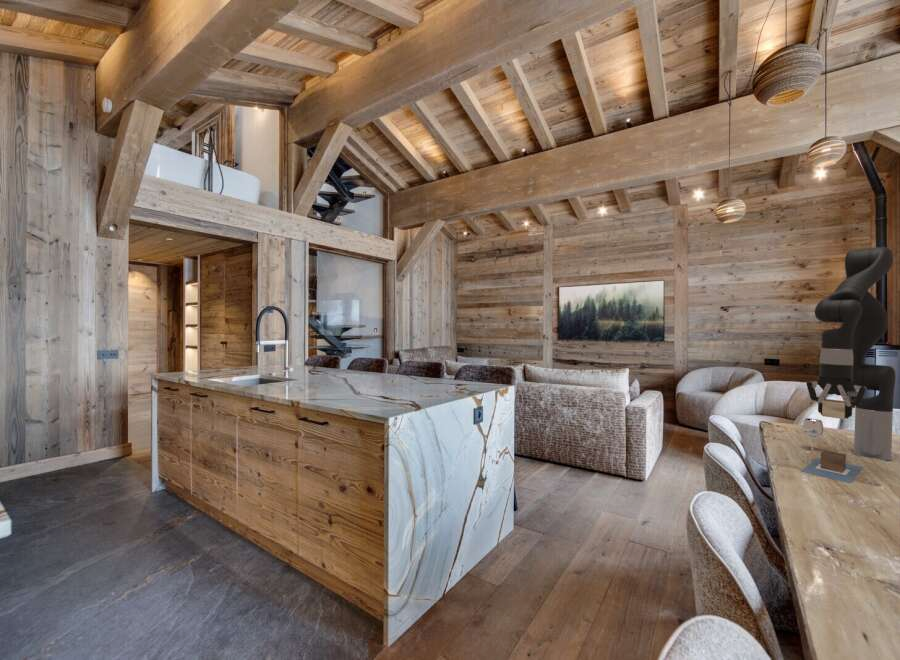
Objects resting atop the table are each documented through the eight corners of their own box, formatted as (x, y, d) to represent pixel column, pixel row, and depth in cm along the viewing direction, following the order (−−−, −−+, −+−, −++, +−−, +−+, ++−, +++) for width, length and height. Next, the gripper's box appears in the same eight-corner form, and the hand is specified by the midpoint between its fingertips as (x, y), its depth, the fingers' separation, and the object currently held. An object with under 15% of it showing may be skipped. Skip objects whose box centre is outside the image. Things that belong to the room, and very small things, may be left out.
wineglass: (827, 455, 143) (828, 422, 143) (808, 453, 144) (809, 421, 144) (815, 450, 148) (816, 418, 148) (798, 449, 150) (799, 417, 149)
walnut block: (824, 465, 128) (824, 449, 128) (845, 469, 124) (846, 454, 124) (820, 468, 125) (821, 452, 125) (842, 473, 122) (842, 457, 121)
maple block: (825, 414, 128) (826, 398, 128) (847, 417, 124) (847, 401, 124) (822, 416, 125) (822, 400, 125) (844, 419, 121) (844, 403, 121)
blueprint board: (817, 460, 136) (817, 457, 136) (863, 470, 128) (863, 466, 128) (800, 474, 123) (800, 471, 123) (850, 486, 114) (850, 482, 114)
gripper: (870, 364, 121) (869, 419, 121) (809, 360, 133) (807, 410, 133) (867, 365, 117) (865, 422, 117) (803, 361, 128) (801, 413, 128)
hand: (834, 415), depth 125 cm, fingers closed on maple block, 5 cm apart
